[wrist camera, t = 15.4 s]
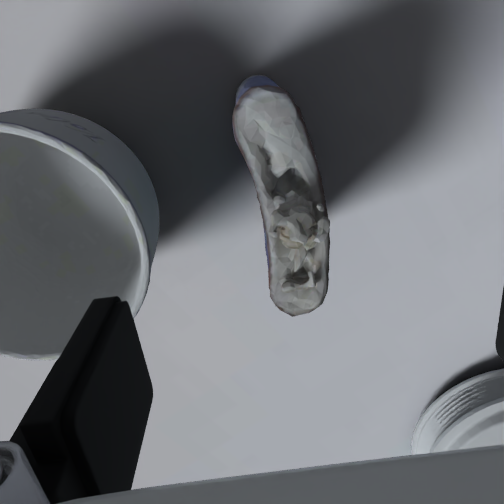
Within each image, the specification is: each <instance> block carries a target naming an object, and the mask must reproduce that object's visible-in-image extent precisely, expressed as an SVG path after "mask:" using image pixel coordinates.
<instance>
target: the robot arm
mask: <svg viewBox="0 0 504 504" xmlns="http://www.w3.org/2000/svg"><path fill="white" fill-rule="evenodd" d="M496 350H497V353H498V355H499V357H500V358H501V359H502V360H503V361H504V288H503V295H502V302H501V309H500V316H499V323H498V330H497V337H496ZM152 399H153V388H152V383H151V379H150V376H149V372H148V369H147V365H146V362H145V358H144V355H143V351H142V348H141V344H140V341H139V337H138V334H137V330H136V327H135V323H134V320H133V316H132V313H131V309H130V306H129V303H128V302H127V301H121V299H120V298H119V297H118V296H113V297H105V298H97V299H94V300H93V301H92V302H91V304H90V306H89V307H88V309H87V311H86V312H85V314H84V316H83V318H82V319H81V321H80V323H79V324H78V326H77V328H76V330H75V331H74V333H73V335H72V336H71V338H70V340H69V342H68V343H67V345H66V347H65V348H64V350H63V352H62V354H61V355H60V357H59V358H58V360H57V361H56V362H55V364H54V366H53V367H52V369H51V371H50V373H49V374H48V376H47V378H46V379H45V381H44V383H43V384H42V386H41V388H40V390H39V391H38V393H37V395H36V396H35V398H34V400H33V402H32V403H31V405H30V407H29V408H28V410H27V412H26V413H25V415H24V417H23V419H22V420H21V422H20V424H19V425H18V427H17V429H16V431H15V432H14V434H13V436H12V437H11V439H10V441H0V504H504V444H503V445H494V446H485V447H476V448H468V449H459V450H451V451H442V452H433V453H425V454H416V455H408V456H399V457H391V458H382V459H374V460H365V461H357V462H348V463H340V464H332V465H323V466H315V467H307V468H299V469H291V470H283V471H275V472H267V473H258V474H250V475H242V476H234V477H226V478H218V479H210V480H202V481H194V482H186V483H178V484H171V485H163V486H155V487H147V488H141V489H134V490H131V487H132V483H133V479H134V475H135V470H136V466H137V462H138V458H139V454H140V450H141V445H142V441H143V437H144V433H145V429H146V425H147V420H148V416H149V412H150V408H151V404H152Z"/></svg>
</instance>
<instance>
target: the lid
mask: <svg viewBox="0 0 504 504" xmlns="http://www.w3.org/2000/svg"><path fill="white" fill-rule="evenodd" d="M503 444H504V369H500V370H495V371H490V372H487V373H483V374H480V375H477V376H474V377H472V378H470V379H467V380H465V381H463V382H461V383H459V384H458V385H456V386H454V387H452V388H451V389H449V390H448V391H447V392H445V393H444V394H442V395H441V396H440V397H439V398H438V399H437V400H435V401H434V402H433V403H432V404H431V405H430V406H429V408H428V409H427V410H426V411H425V412H424V414H423V415H422V417H421V418H420V420H419V421H418V423H417V425H416V427H415V430H414V433H413V436H412V442H411V453H412V455H416V454H425V453H433V452H442V451H451V450H459V449H468V448H476V447H485V446H494V445H503Z"/></svg>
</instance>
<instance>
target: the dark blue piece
mask: <svg viewBox="0 0 504 504" xmlns="http://www.w3.org/2000/svg"><path fill="white" fill-rule="evenodd" d="M232 125H233V132H234V137H235V140H236V143H237V145H238V147H239V149H240V152H241V153H242V155H243V156H244V159H245V161H246V163H247V166H248V168H249V171H250V173H251V175H252V178H253V180H254V184H255V187H256V191H257V198H258V200H259V203H260V209H261V214H262V218H263V226H264V233H265V248H266V255H267V261H268V269H269V270H268V273H269V289H270V297H271V299H272V300H273V302H274V303H275V305H276V306H277V307H278V308H279V309H280V310H281V311H283V312H285V313H287V314H289V315H291V316H292V317H293V316H297V315H301V314H305V313H309V312H311V311H313V310H315V309H316V308H317V307H319V306H320V305H321V304H322V303H323V301H324V298H325V296H326V294H327V290H328V281H329V278H328V272H329V248H330V237H329V227H330V221H329V219H328V214H327V208H326V201H325V196H324V190H323V185H322V178H321V174H320V171H319V167H318V164H317V160H316V157H315V152H314V149H313V146H312V143H311V140H310V138H309V135H308V132H307V129H306V126H305V123H304V120H303V118H302V115H301V112H300V109H299V107H298V106H297V105H296V104H295V101H294V99H293V98H292V97H291V96H290V94H289V93H288V92H287V91H285V90H284V89H282V88H280V87H279V86H278V85H277V84H276V83H275V82H274V81H273V80H271V79H270V78H268V77H267V76H264V75H256V76H250V77H248V78H246V79H245V80H243V82H242V83H241V85H240V86H239V87H238V90H237V92H236V105H235V107H234V111H233V122H232Z"/></svg>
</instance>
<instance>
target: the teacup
mask: <svg viewBox="0 0 504 504" xmlns="http://www.w3.org/2000/svg"><path fill="white" fill-rule="evenodd" d="M158 236H159V207H158V201H157V197H156V193H155V190H154V187H153V184H152V182H151V179H150V177H149V175H148V174H147V172H146V170H145V168H144V167H143V165H142V164H141V162H140V161H139V159H138V158H137V157H136V155H135V154H134V153H133V152H132V151H131V150H130V149H129V148H128V147H127V146H126V145H125V144H124V143H123V142H122V141H121V140H120V139H119V138H117V137H116V136H115V135H113V134H112V133H111V132H109V131H108V130H107V129H105V128H103V127H102V126H100V125H98V124H96V123H94V122H92V121H90V120H88V119H85V118H83V117H80V116H77V115H74V114H71V113H67V112H63V111H58V110H50V109H22V110H13V111H7V112H2V113H0V356H4V357H10V358H16V359H25V360H55V359H58V358H59V357H60V355H61V354H62V352H63V350H64V348H65V347H66V345H67V343H68V342H69V340H70V338H71V336H72V335H73V333H74V331H75V330H76V328H77V326H78V324H79V323H80V321H81V319H82V318H83V316H84V314H85V312H86V311H87V309H88V307H89V306H90V304H91V302H92V301H93V300H94V299H97V298H105V297H113V296H118V297H119V298H120V299H121V301H127V302H128V303H129V306H130V309H131V313H132V316H133V319H134V317H135V316H136V315H137V313H138V311H139V309H140V307H141V306H142V303H143V301H144V298H145V296H146V294H147V290H148V285H149V282H150V272H151V266H152V262H153V258H154V255H155V251H156V246H157V241H158Z"/></svg>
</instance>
